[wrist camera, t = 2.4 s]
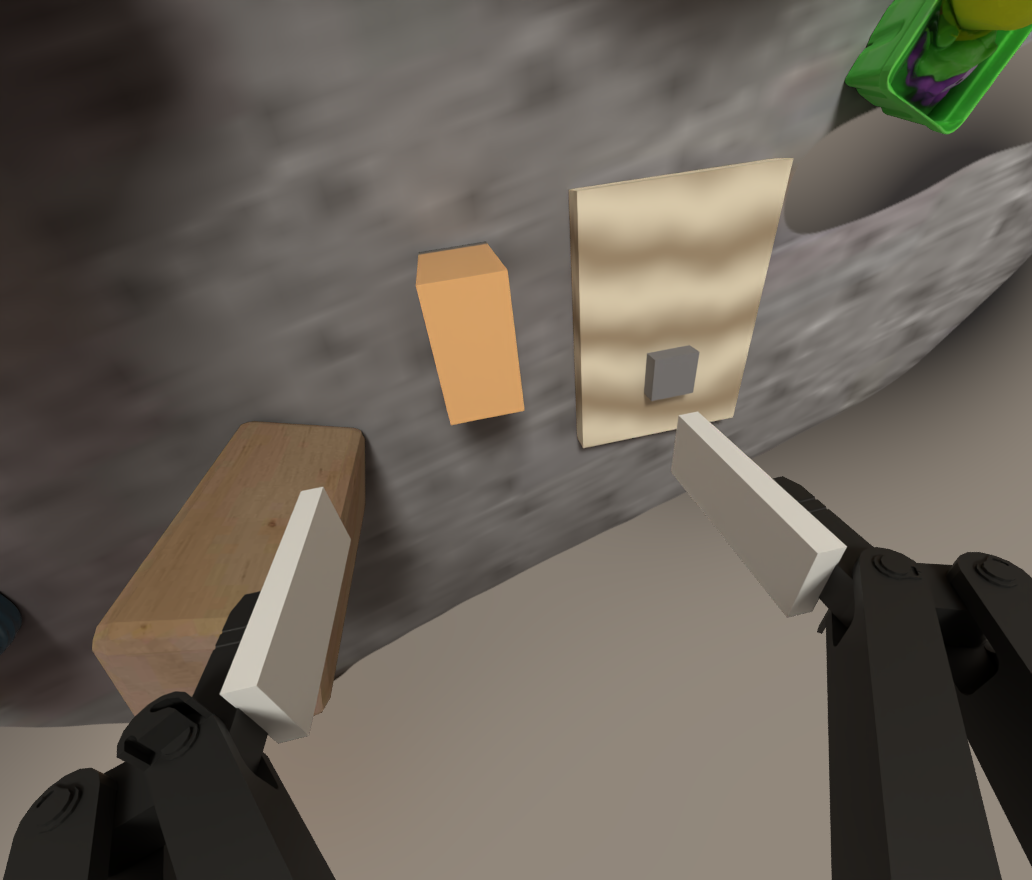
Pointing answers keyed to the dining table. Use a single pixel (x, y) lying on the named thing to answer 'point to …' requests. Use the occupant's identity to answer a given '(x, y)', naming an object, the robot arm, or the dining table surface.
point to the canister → (8, 622)
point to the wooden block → (228, 556)
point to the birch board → (668, 289)
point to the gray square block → (670, 372)
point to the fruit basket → (939, 57)
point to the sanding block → (471, 330)
